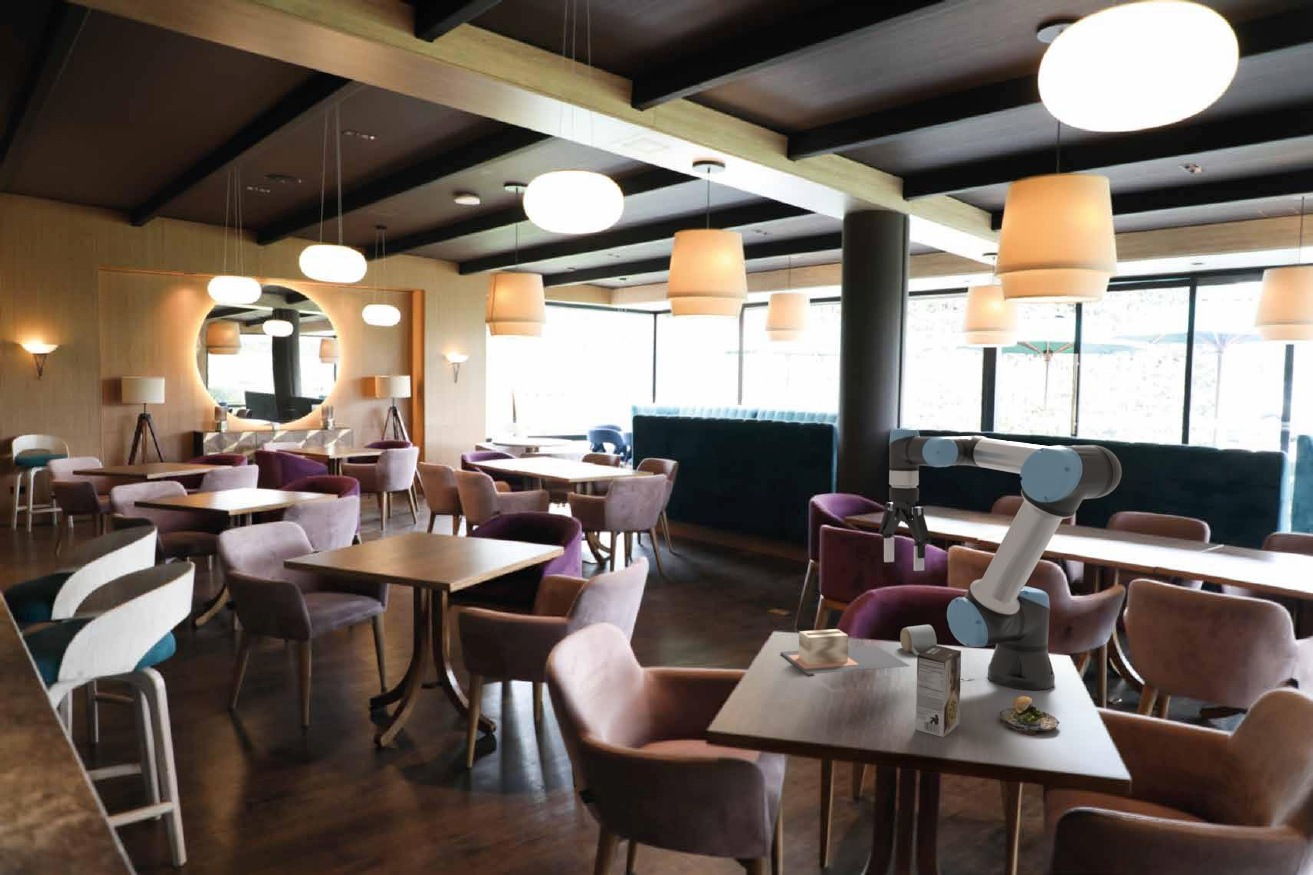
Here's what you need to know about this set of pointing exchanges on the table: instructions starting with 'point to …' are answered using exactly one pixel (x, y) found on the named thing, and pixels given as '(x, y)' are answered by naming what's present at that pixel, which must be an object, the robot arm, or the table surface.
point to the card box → (823, 646)
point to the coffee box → (938, 690)
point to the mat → (849, 661)
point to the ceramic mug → (917, 638)
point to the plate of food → (1026, 718)
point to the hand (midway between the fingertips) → (903, 566)
